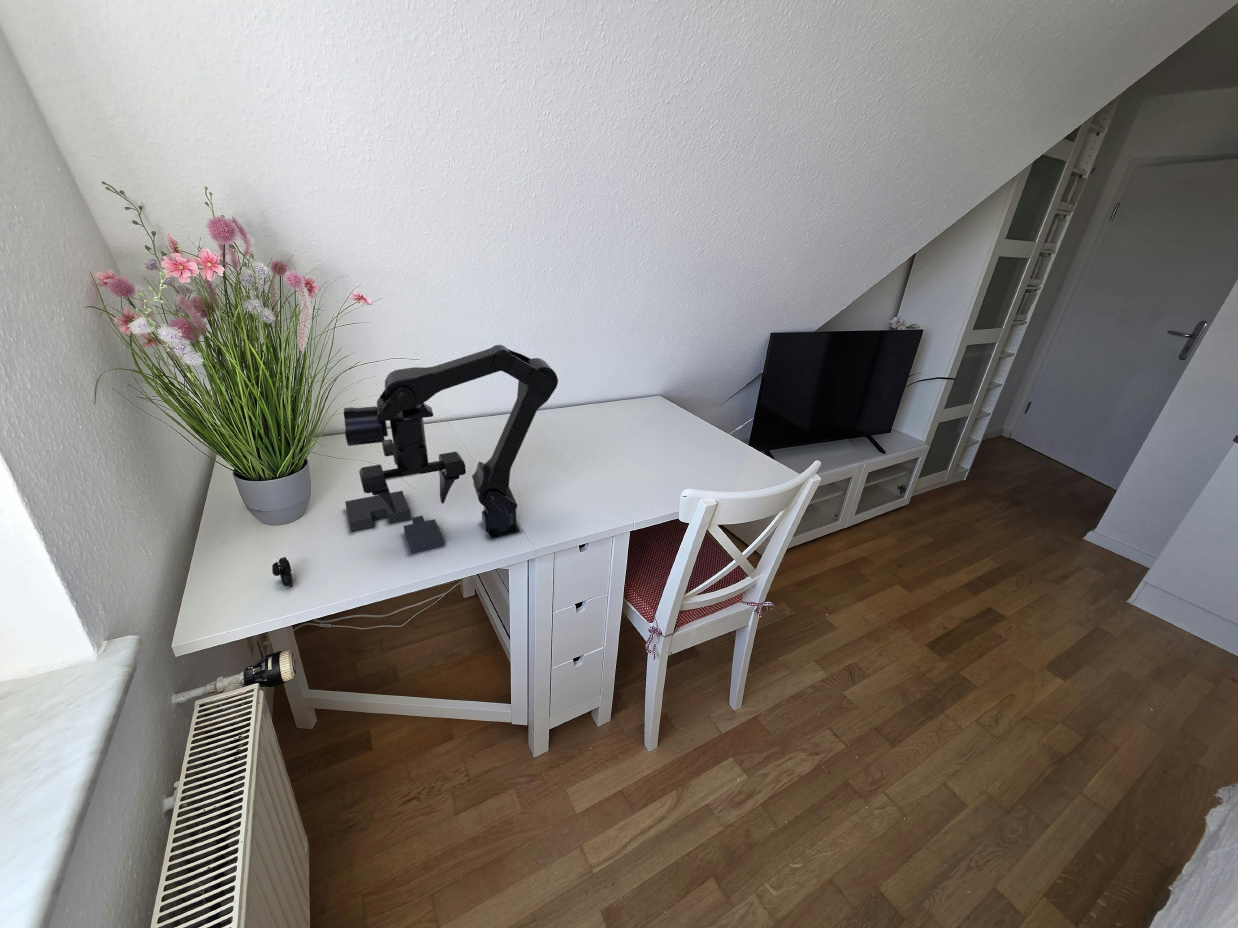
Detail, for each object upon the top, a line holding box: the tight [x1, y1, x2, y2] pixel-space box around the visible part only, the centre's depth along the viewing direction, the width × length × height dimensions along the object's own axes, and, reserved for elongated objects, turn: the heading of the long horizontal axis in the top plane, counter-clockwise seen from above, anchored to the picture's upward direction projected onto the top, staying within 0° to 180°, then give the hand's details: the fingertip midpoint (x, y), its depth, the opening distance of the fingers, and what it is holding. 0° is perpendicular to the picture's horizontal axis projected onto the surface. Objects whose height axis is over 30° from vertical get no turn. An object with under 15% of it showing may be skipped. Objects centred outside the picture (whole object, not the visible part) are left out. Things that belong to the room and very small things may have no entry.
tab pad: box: [403, 515, 444, 555], centre depth 108 cm, size 6×9×2 cm
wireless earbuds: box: [271, 556, 294, 588], centre depth 93 cm, size 7×2×5 cm, turn 32°
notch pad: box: [344, 490, 412, 533], centre depth 114 cm, size 12×9×2 cm
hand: (419, 507), depth 104 cm, fingers open, 9 cm apart
